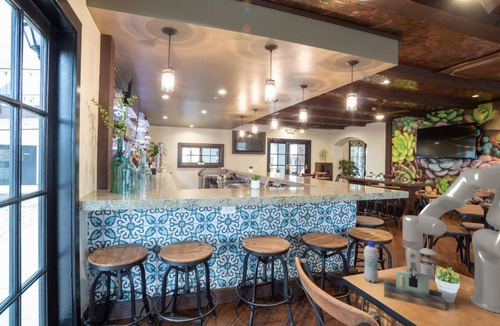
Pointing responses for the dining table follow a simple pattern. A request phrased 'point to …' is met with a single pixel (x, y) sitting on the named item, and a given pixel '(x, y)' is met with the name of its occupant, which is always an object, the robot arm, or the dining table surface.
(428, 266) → the french press
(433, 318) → the dining table surface
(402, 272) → the door panel
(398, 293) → the bottom track
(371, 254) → the bottle
